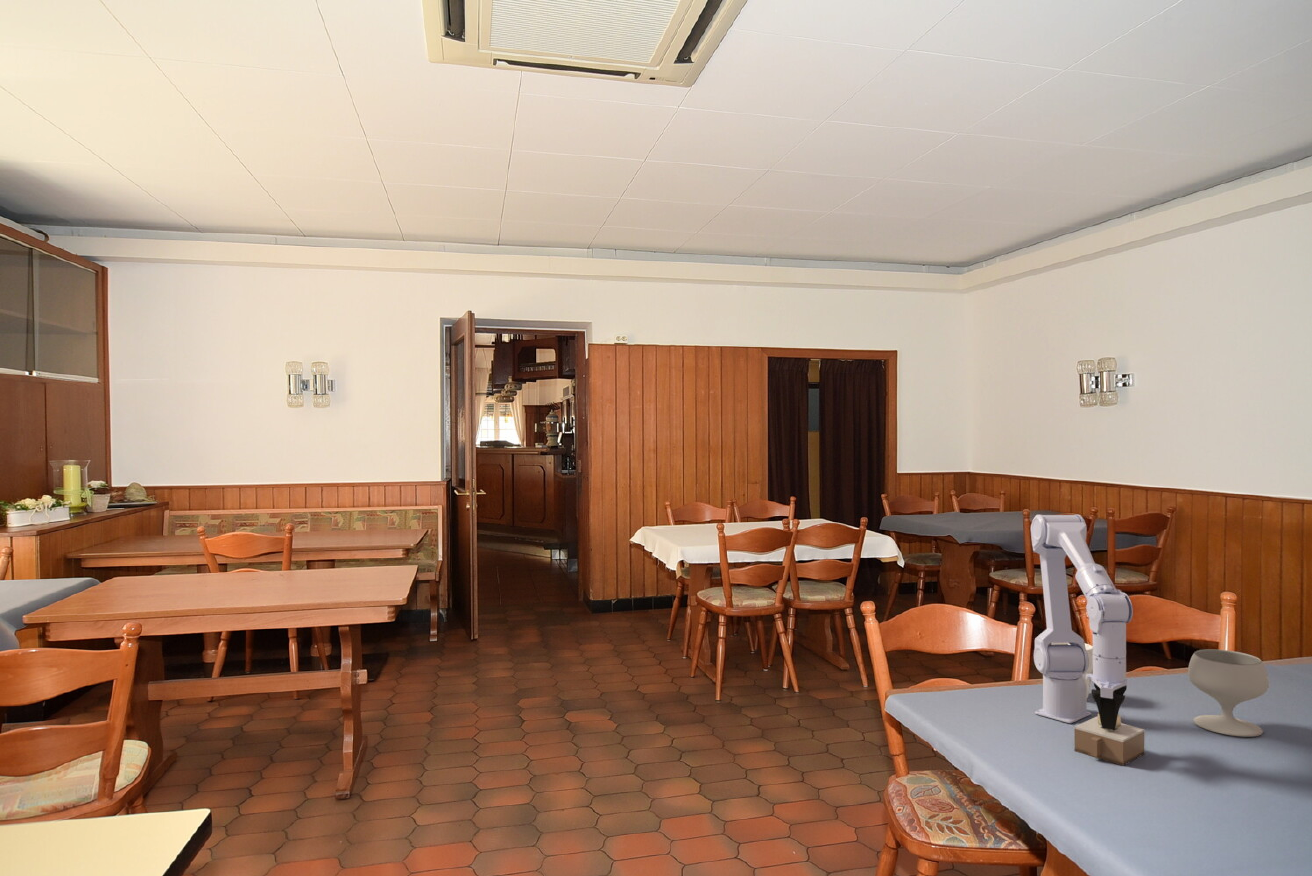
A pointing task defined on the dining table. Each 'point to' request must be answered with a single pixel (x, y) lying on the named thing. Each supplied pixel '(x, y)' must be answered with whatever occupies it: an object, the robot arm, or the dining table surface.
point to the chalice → (1228, 687)
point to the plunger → (1118, 723)
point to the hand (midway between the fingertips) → (1109, 724)
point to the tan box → (1109, 742)
